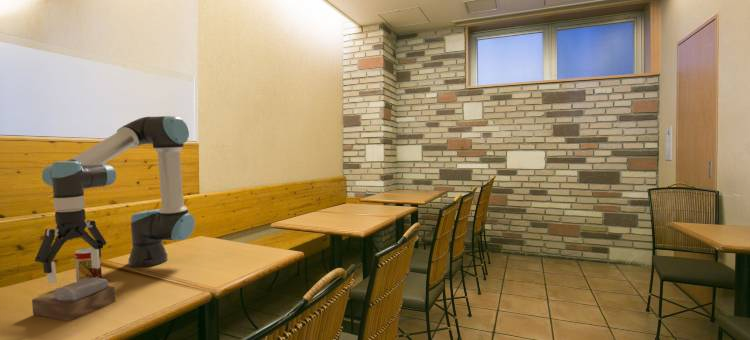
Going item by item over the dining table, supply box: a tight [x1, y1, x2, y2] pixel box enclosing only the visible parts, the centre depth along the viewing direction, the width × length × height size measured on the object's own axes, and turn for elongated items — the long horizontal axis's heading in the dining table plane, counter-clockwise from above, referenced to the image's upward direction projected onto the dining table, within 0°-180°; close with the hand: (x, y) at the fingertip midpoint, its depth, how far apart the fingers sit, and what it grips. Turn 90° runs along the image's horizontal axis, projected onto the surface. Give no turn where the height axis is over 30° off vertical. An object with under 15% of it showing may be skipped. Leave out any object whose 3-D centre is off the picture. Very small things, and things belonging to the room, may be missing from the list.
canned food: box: [74, 247, 103, 282], centre depth 148 cm, size 8×8×12 cm
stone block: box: [54, 277, 109, 301], centre depth 122 cm, size 12×5×10 cm
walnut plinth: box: [31, 285, 116, 322], centre depth 123 cm, size 15×15×5 cm
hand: (75, 274), depth 123 cm, fingers open, 13 cm apart
